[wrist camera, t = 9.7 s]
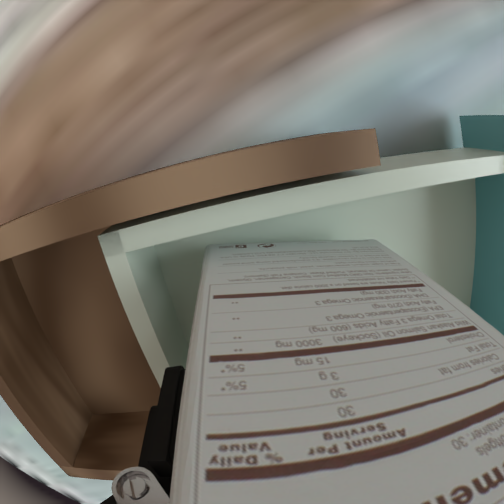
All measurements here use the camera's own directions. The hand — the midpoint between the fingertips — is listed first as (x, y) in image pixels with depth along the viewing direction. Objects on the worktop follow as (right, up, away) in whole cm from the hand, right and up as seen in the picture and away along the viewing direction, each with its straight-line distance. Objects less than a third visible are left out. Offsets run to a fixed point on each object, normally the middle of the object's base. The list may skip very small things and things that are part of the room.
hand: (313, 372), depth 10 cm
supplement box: (0, +1, +4) cm, 4 cm away
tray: (+3, +3, +6) cm, 7 cm away
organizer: (-6, +1, +7) cm, 9 cm away
